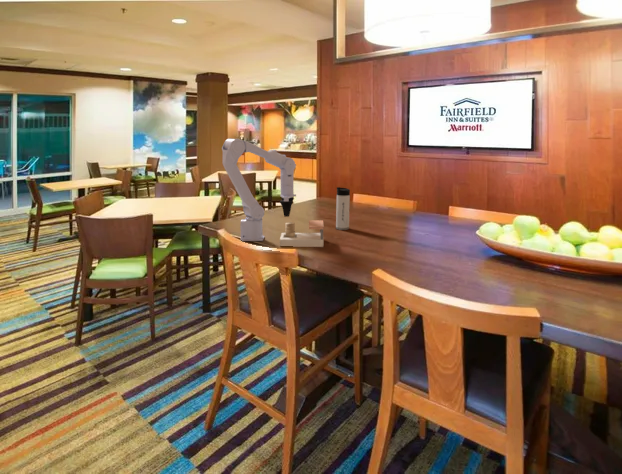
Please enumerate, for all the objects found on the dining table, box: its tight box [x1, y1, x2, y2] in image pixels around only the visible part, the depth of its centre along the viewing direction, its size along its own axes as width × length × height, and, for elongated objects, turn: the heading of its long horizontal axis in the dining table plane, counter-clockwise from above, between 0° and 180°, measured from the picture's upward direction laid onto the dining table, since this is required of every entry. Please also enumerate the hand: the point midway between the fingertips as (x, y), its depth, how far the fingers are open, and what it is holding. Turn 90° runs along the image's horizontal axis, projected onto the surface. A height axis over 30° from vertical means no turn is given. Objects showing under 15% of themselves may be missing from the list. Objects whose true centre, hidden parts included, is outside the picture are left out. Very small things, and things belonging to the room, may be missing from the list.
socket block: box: [279, 219, 325, 248], centre depth 181 cm, size 18×13×8 cm
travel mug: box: [335, 186, 351, 231], centre depth 207 cm, size 6×7×20 cm
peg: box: [284, 222, 296, 238], centre depth 181 cm, size 4×4×8 cm
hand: (287, 214), depth 193 cm, fingers open, 7 cm apart
